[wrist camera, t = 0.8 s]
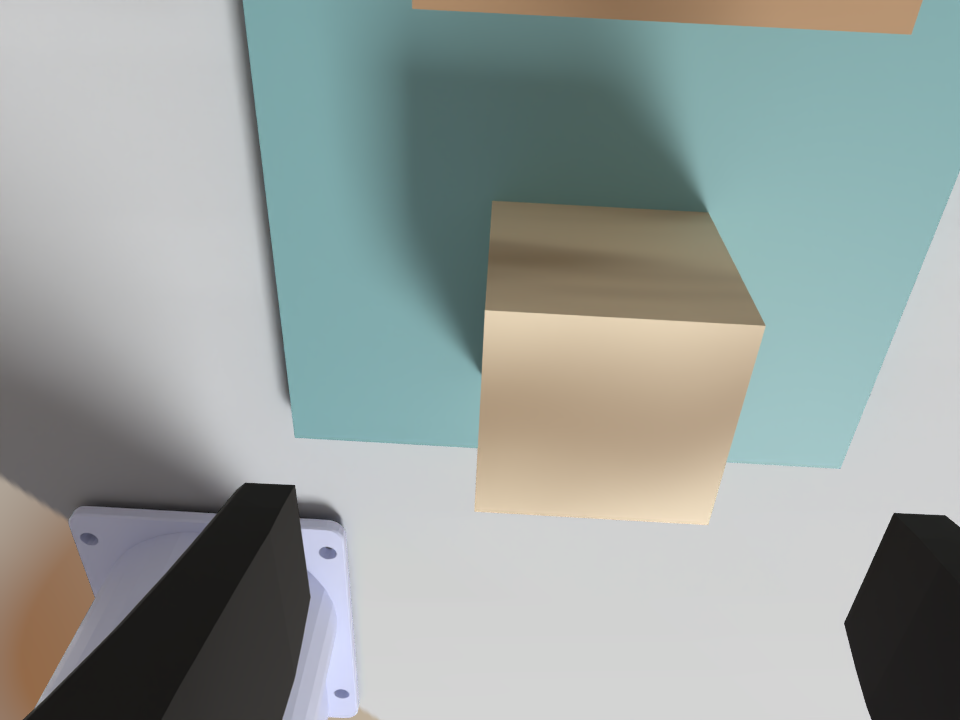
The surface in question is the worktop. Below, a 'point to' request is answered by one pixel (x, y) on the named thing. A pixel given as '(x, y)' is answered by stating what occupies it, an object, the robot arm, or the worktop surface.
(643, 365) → the maple block
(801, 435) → the build board
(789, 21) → the walnut block
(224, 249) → the worktop surface
